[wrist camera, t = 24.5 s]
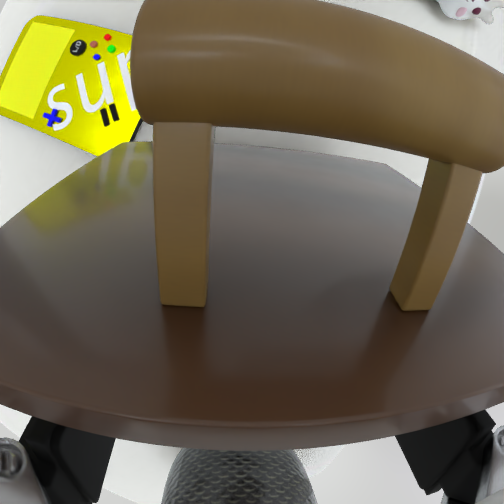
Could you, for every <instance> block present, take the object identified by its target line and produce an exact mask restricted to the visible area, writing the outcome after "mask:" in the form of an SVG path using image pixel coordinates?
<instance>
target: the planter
mask: <svg viewBox="0 0 504 504" xmlns="http://www.w3.org/2000/svg"><path fill="white" fill-rule="evenodd" d="M161 504H317V501H316V498H315V495H314V492H313V489H312V486H311V483H310V481H309V478H308V476H307V473H306V471H305V469H304V467H303V465H302V463H301V461H300V460H299V458H298V456H297V455H296V454H295V452H294V451H293V450H292V449H291V450H267V451H231V450H207V449H193V448H183V449H182V450H181V451H180V452H179V454H178V455H177V457H176V459H175V461H174V463H173V465H172V466H171V469H170V472H169V475H168V478H167V481H166V485H165V489H164V493H163V498H162V502H161Z"/></svg>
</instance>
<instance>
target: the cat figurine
mask: <svg viewBox="0 0 504 504" xmlns="http://www.w3.org/2000/svg"><path fill="white" fill-rule="evenodd" d="M437 1H438V2H439V4H440V7H441V9H442V11H443V13H444V14H445V15H446V16H448V17H450V18H454V19H457V20H464V19H469V18H479V19H481V20H482V21H483V22H485V23H486V24H492V23H493V15H492V11H493V10H494V9H495V8H504V0H436V2H437Z"/></svg>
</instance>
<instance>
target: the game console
mask: <svg viewBox="0 0 504 504" xmlns="http://www.w3.org/2000/svg"><path fill="white" fill-rule="evenodd" d="M131 42H132V35H129V34H125V33H121V32H118V31H114V30H110V29H106V28H102V27H98V26H94V25H90V24H85V23H81V22H76V21H71V20H65V19H60V18H54V17H48V16H41V15H40V16H36V17H34V18H32V19H31V20H29V22H28V23H27V24H26V25H25V27H24V28H23V30H22V32H21V34H20V36H19V37H18V39H17V41H16V43H15V45H14V47H13V49H12V51H11V54H10V56H9V58H8V60H7V62H6V64H5V67H4V69H3V71H2V74H1V76H0V115H2V116H5V117H7V118H10V119H12V120H14V121H17V122H19V123H22V124H24V125H26V126H29V127H31V128H33V129H36V130H38V131H41V132H43V133H45V134H48V135H50V136H52V137H55V138H57V139H59V140H62V141H64V142H66V143H68V144H71V145H73V146H75V147H78V148H80V149H82V150H84V151H87V152H89V153H91V154H94V155H96V156H100V155H101V154H103V153H105V152H106V151H108V150H110V149H111V148H113V147H115V146H116V145H118V144H120V143H122V142H133V140H134V138H135V136H136V134H137V132H138V129H139V127H140V125H141V123H142V121H143V120H142V119H141V118H140V116H139V114H138V112H137V109H136V106H135V103H134V98H133V93H132V88H131V79H130V51H131Z"/></svg>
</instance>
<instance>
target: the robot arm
mask: <svg viewBox="0 0 504 504" xmlns="http://www.w3.org/2000/svg"><path fill="white" fill-rule="evenodd" d="M495 425H496V423H495V422H494V421H493V419H492V418H491V417H490V416H489V414H488V413H487V412H486V410H482V411H479V412H476V413H474V414H471V415H468V416H465V417H462V418H459V419H456V420H453V421H449V422H446V423H443V424H439V425H436V426H432V427H428V428H425V429H421V430H417V431H413V432H409V433H404V434H400V435H395V437H396V439H397V441H398V443H399V445H400V447H401V449H402V451H403V453H404V455H405V458H406V460H407V462H408V464H409V466H410V468H411V470H412V472H413V474H414V476H415V478H416V480H417V483H418V485H419V487H420V488H421V489H424V491H425V493H426V495H429V494H432V493H435V492H437V491H439V490H440V489H441V488H442V489H443V491H444V495H443V498H442V501H441V504H504V426H500V427H499V428H497V429H496V431H495V432H494V433H493V432H492V431H491V430H492V429H493V427H494V426H495ZM115 439H116V438H113V437H108V436H103V435H99V434H94V433H90V432H86V431H82V430H78V429H74V428H70V427H66V426H63V425H59V424H56V423H53V422H49V421H46V420H43V419H40V418H37V417H34V416H32V417H31V419H30V421H29V423H28V425H27V426H26V428H25V430H24V432H23V434H22V436H21V438H20V440H19V442H18V441H16V440H14V439H10V438H0V504H92V503H97V502H98V500H99V497H100V493H101V489H102V485H103V481H104V478H105V474H106V470H107V467H108V463H109V459H110V456H111V452H112V449H113V446H114V442H115Z"/></svg>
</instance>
